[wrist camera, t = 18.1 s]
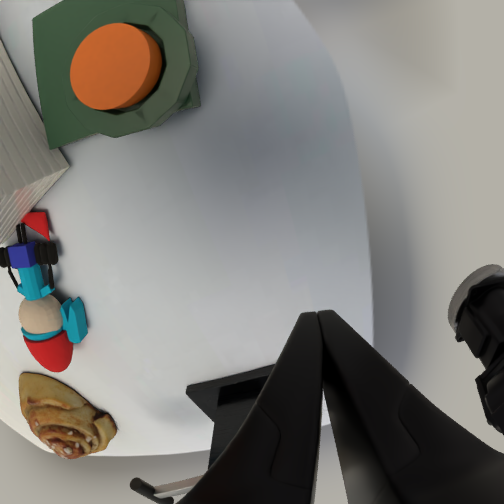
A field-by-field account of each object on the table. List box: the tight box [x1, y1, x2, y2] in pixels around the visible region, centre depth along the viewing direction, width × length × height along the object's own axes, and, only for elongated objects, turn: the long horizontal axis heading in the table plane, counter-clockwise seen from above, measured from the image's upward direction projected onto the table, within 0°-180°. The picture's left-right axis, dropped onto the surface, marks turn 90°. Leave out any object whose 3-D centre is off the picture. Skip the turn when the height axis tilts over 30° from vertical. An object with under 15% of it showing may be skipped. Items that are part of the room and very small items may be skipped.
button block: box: [32, 0, 201, 150], centre depth 14 cm, size 11×11×4 cm
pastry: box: [19, 373, 117, 459], centre depth 29 cm, size 13×15×8 cm
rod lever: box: [130, 475, 203, 504], centre depth 21 cm, size 12×5×2 cm, turn 115°
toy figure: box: [0, 212, 88, 372], centre depth 22 cm, size 8×5×15 cm
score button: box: [70, 23, 162, 110], centre depth 12 cm, size 4×4×2 cm
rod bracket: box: [186, 365, 275, 469], centre depth 24 cm, size 10×8×10 cm
